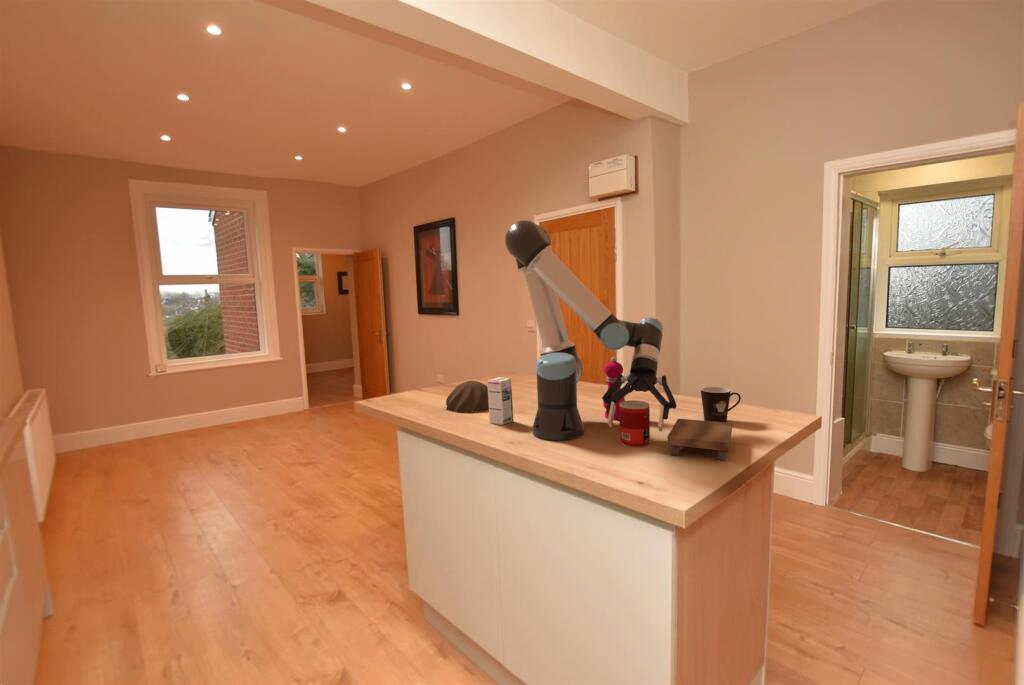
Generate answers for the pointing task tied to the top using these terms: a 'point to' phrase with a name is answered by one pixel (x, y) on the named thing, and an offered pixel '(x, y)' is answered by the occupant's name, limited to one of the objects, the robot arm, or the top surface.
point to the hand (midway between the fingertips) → (634, 426)
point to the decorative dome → (468, 398)
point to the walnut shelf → (700, 436)
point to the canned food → (634, 423)
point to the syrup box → (500, 400)
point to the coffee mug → (716, 403)
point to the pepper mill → (612, 373)
